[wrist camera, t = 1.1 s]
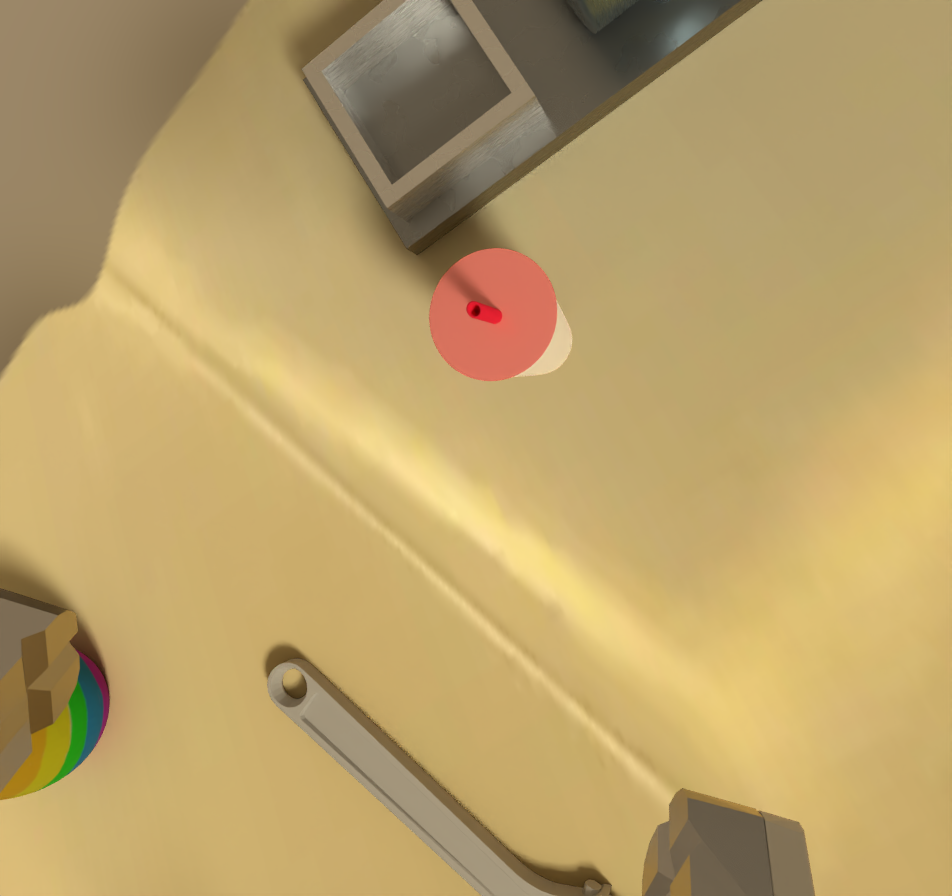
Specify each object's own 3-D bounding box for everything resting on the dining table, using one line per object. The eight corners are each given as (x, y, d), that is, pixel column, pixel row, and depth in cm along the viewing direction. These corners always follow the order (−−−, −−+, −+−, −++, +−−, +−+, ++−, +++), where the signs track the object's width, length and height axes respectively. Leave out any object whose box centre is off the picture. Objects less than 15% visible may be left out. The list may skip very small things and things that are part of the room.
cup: (578, 404, 43) (521, 388, 31) (477, 381, 44) (388, 358, 33) (603, 298, 42) (555, 242, 31) (500, 278, 44) (419, 218, 32)
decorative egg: (-4, 674, 53) (-166, 723, 43) (85, 603, 51) (-64, 638, 41) (59, 790, 52) (-94, 868, 42) (153, 722, 50) (15, 787, 40)
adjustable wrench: (271, 681, 48) (254, 689, 46) (341, 599, 47) (326, 604, 45) (605, 1047, 43) (599, 1071, 41) (693, 964, 41) (692, 986, 40)
